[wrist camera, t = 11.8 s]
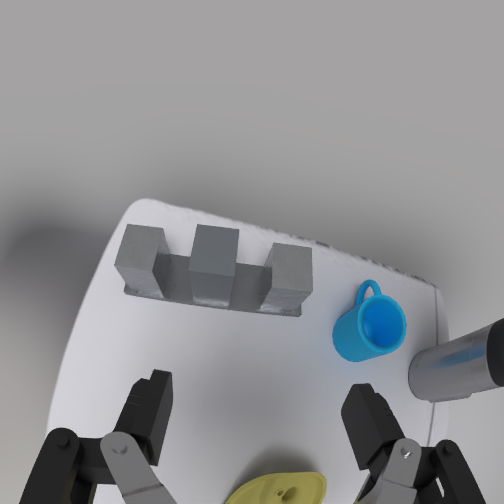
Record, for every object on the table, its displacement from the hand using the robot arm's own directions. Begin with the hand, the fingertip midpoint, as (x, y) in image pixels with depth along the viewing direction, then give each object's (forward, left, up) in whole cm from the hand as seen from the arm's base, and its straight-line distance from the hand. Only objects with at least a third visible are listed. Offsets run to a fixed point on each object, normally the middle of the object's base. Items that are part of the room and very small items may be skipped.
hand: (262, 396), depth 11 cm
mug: (-6, -21, -27) cm, 35 cm away
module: (+13, -8, -25) cm, 30 cm away
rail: (+13, -8, -26) cm, 31 cm away
